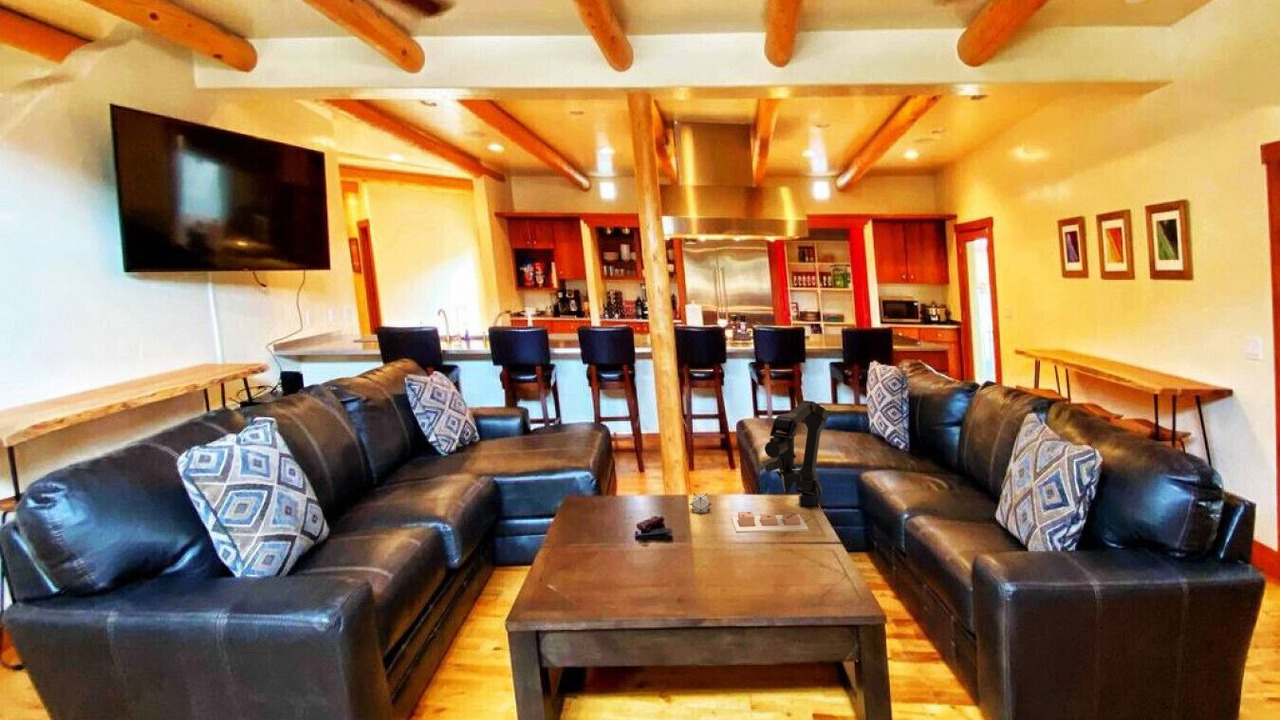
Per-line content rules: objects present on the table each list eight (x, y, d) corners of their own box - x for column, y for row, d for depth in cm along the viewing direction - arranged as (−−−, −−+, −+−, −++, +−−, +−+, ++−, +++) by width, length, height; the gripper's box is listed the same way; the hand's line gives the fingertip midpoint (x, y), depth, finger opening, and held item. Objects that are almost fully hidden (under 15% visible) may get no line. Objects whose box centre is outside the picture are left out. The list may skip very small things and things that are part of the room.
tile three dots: (796, 523, 219) (796, 512, 218) (799, 529, 214) (799, 518, 213) (782, 524, 219) (782, 513, 218) (785, 529, 214) (785, 518, 213)
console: (799, 519, 223) (799, 514, 223) (808, 534, 210) (808, 528, 210) (731, 521, 223) (731, 516, 223) (736, 536, 210) (736, 531, 210)
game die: (696, 523, 233) (681, 500, 235) (713, 511, 236) (699, 489, 238) (702, 519, 225) (687, 496, 227) (720, 507, 227) (705, 484, 230)
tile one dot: (774, 524, 219) (774, 513, 218) (777, 530, 214) (777, 518, 213) (760, 524, 219) (760, 514, 218) (763, 530, 214) (763, 519, 214)
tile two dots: (752, 522, 219) (752, 511, 218) (754, 527, 214) (754, 516, 213) (738, 522, 219) (738, 511, 218) (740, 528, 214) (740, 517, 214)
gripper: (758, 444, 225) (758, 485, 227) (769, 459, 206) (770, 503, 208) (787, 443, 225) (788, 483, 227) (801, 458, 206) (802, 501, 208)
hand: (786, 492), depth 218 cm, fingers closed
